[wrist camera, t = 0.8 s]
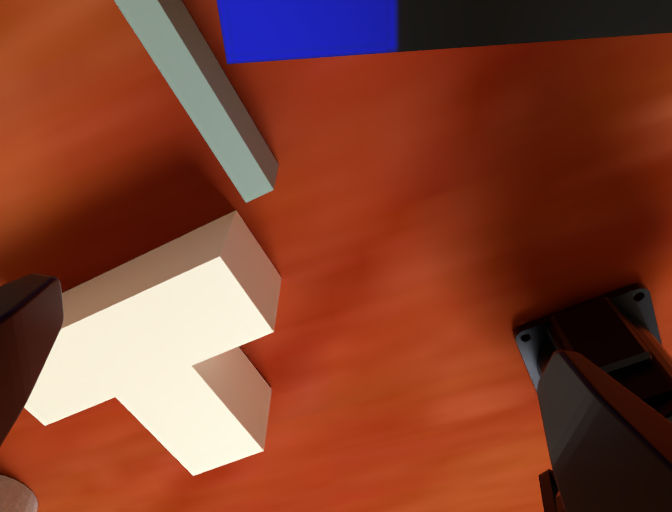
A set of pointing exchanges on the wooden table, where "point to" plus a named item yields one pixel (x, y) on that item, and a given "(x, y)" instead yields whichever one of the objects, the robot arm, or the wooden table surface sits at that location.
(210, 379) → the t block
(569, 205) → the wooden table surface
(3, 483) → the house plant
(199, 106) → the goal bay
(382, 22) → the puzzle toy
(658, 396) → the robot arm
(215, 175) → the wooden table surface
